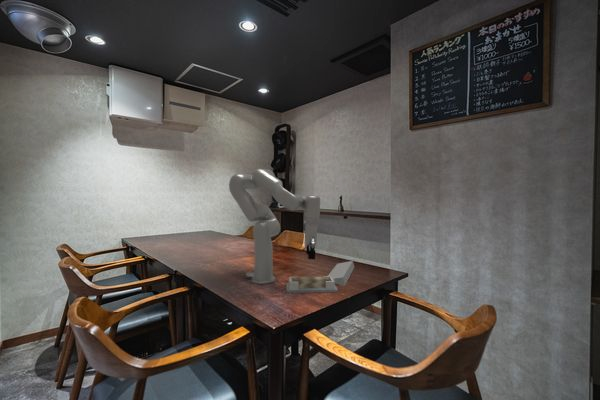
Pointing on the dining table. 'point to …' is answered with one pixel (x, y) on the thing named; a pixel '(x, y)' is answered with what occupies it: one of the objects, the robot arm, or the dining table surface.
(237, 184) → the robot arm
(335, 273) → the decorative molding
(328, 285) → the cradle
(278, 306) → the dining table surface
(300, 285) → the slat
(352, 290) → the dining table surface
